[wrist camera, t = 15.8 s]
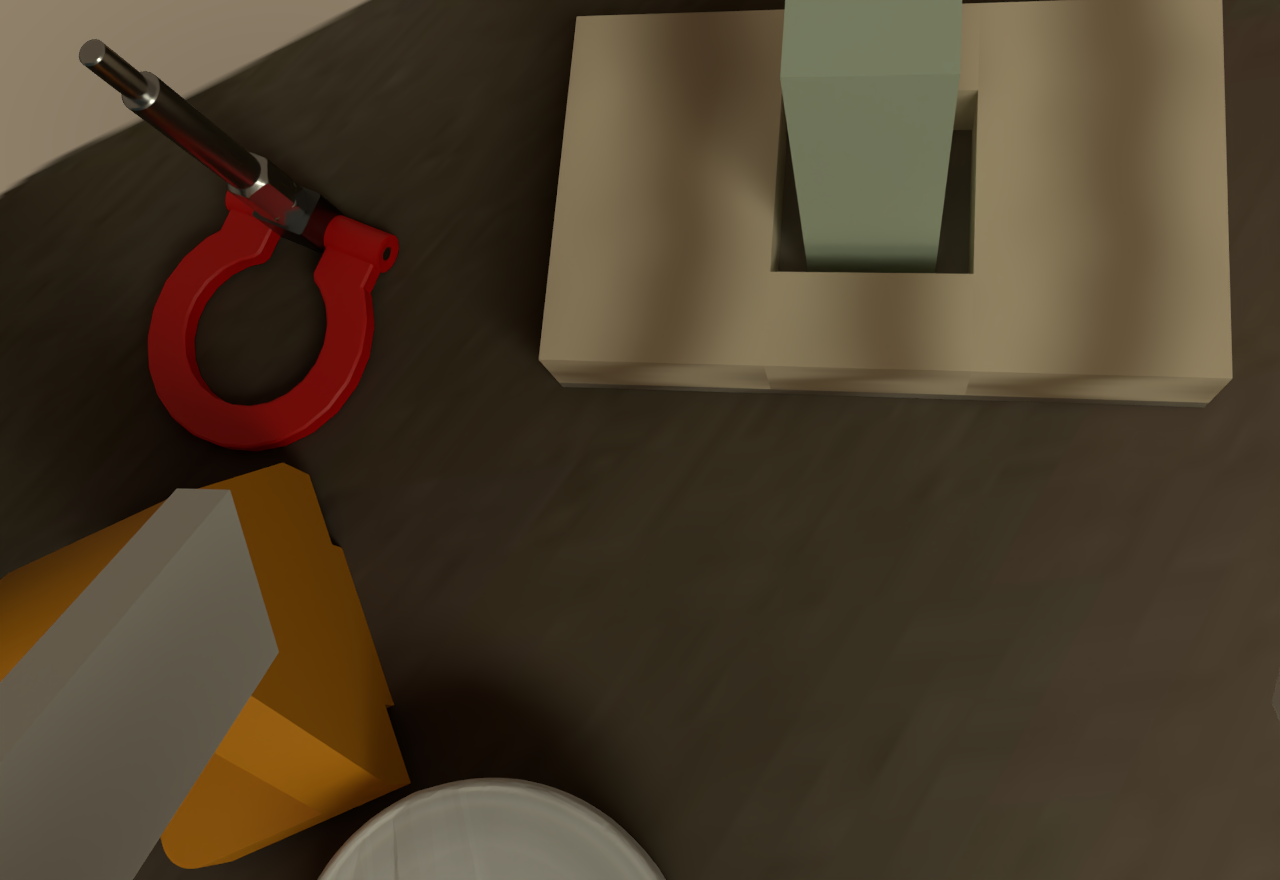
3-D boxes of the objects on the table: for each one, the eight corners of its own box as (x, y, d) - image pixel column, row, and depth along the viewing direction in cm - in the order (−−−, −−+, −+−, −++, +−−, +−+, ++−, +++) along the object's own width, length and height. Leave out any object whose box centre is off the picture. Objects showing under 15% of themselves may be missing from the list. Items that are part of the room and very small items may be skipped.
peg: (808, 272, 39) (780, 77, 28) (814, 160, 40) (790, -75, 28) (934, 274, 38) (959, 74, 27) (938, 159, 39) (964, -83, 28)
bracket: (134, 565, 42) (-146, 497, 30) (319, 479, 41) (106, 378, 30) (218, 870, 38) (-60, 924, 27) (420, 782, 38) (224, 798, 26)
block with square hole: (562, 386, 40) (538, 359, 37) (596, 64, 43) (576, 16, 40) (1204, 407, 36) (1232, 378, 33) (1196, 50, 39) (1221, -5, 36)
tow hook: (315, 489, 42) (428, 250, 42) (65, 405, 29) (233, 70, 30) (127, 403, 44) (238, 178, 45) (-178, 289, 31) (-15, -18, 32)
